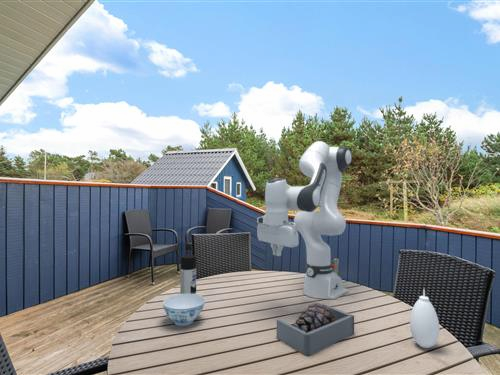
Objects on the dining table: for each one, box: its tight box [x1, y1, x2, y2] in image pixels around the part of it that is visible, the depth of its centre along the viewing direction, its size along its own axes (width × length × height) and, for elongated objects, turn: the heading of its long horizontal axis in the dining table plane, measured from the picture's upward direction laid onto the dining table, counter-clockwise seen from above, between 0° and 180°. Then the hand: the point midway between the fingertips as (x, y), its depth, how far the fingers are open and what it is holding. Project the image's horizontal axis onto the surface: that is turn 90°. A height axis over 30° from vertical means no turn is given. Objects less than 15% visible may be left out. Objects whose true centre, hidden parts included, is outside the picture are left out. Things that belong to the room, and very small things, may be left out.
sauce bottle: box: [409, 288, 440, 349], centre depth 91 cm, size 8×8×18 cm
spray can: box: [179, 254, 197, 294], centre depth 125 cm, size 7×7×20 cm
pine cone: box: [291, 302, 335, 333], centre depth 96 cm, size 10×18×10 cm, turn 141°
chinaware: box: [162, 293, 206, 327], centre depth 107 cm, size 15×15×8 cm
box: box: [276, 303, 355, 357], centre depth 97 cm, size 23×13×6 cm, turn 127°
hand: (277, 255), depth 113 cm, fingers closed
